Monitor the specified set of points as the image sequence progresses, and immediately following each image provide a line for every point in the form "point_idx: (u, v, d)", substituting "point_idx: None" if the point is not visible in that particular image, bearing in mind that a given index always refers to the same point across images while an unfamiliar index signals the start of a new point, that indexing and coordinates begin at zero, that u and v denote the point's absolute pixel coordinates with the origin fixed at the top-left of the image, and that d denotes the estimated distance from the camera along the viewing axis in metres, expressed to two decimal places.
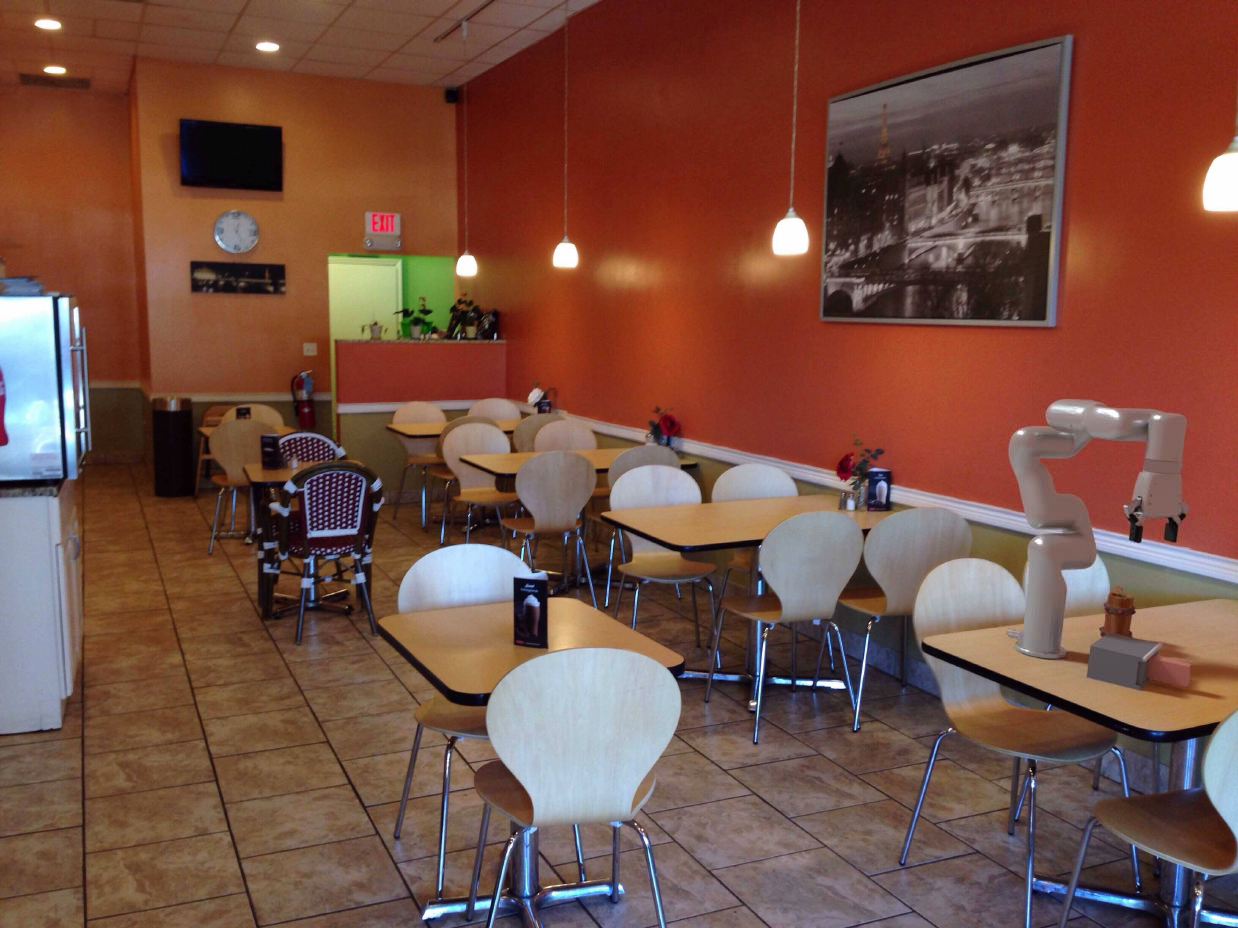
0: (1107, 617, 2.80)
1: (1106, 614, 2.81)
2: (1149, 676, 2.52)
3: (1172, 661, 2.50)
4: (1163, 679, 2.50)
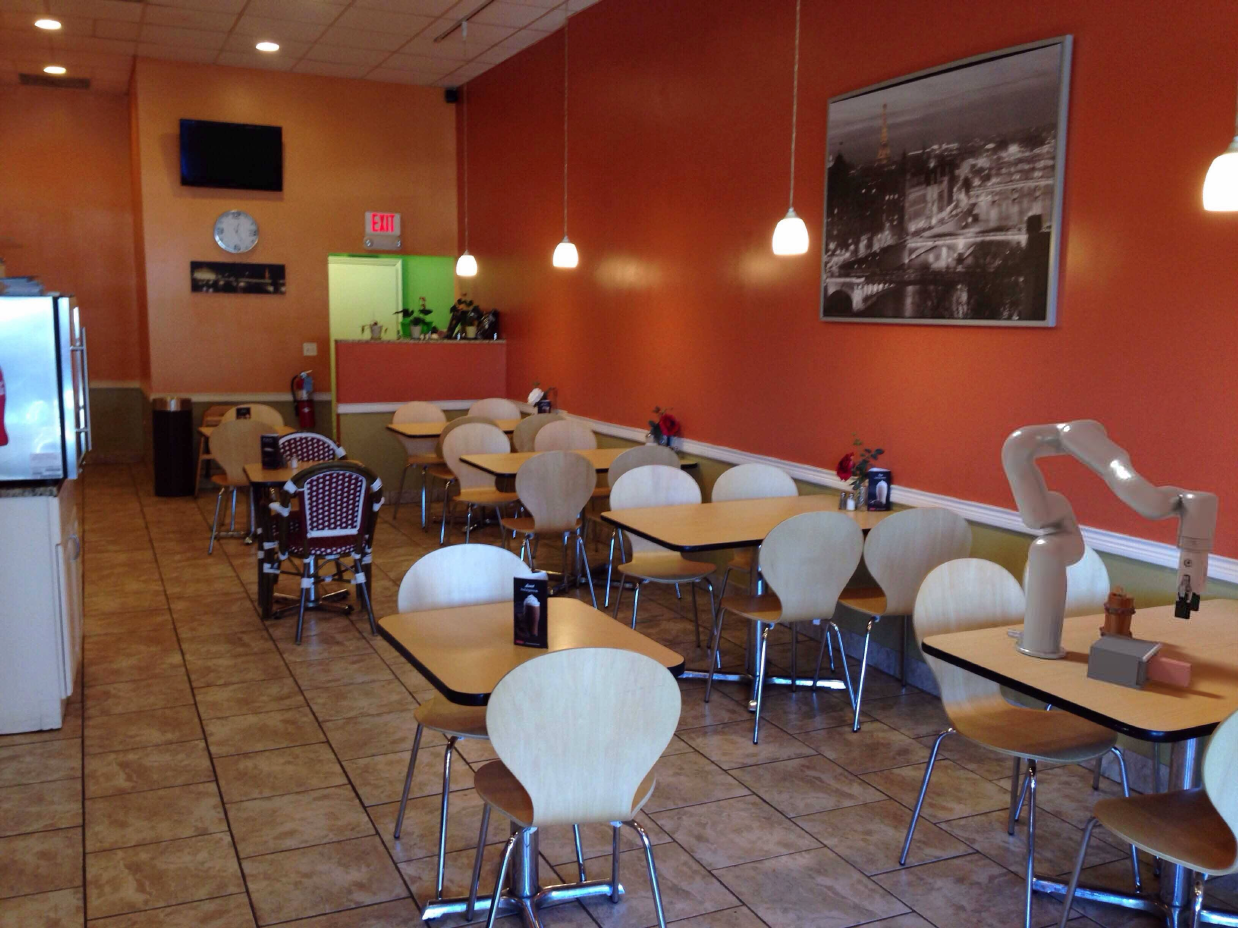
0: (1107, 617, 2.80)
1: (1106, 614, 2.81)
2: (1149, 676, 2.52)
3: (1172, 661, 2.50)
4: (1163, 679, 2.50)
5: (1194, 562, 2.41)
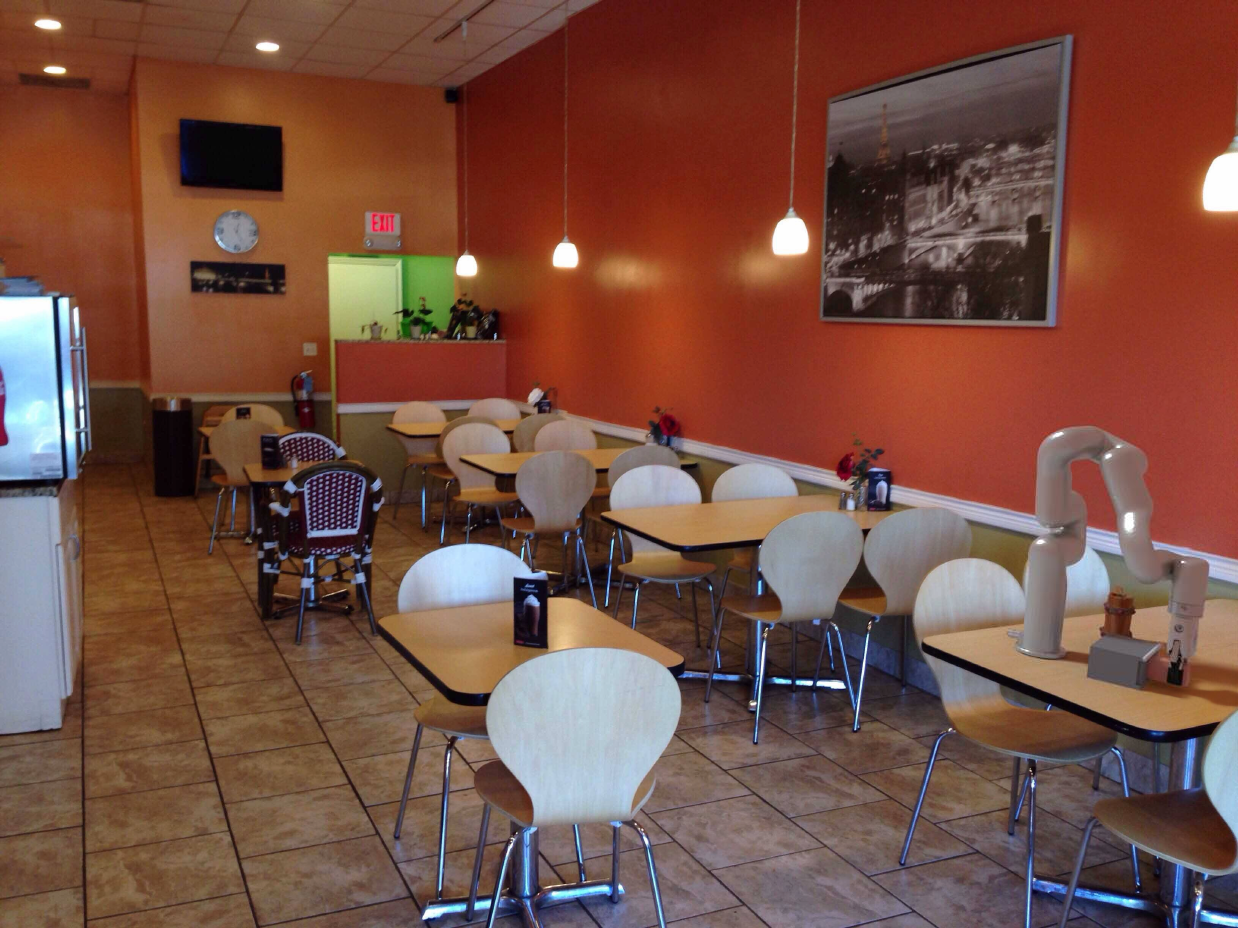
0: (1107, 617, 2.80)
1: (1106, 614, 2.81)
2: (1149, 676, 2.52)
3: None
4: (1163, 679, 2.50)
5: (1184, 628, 2.43)
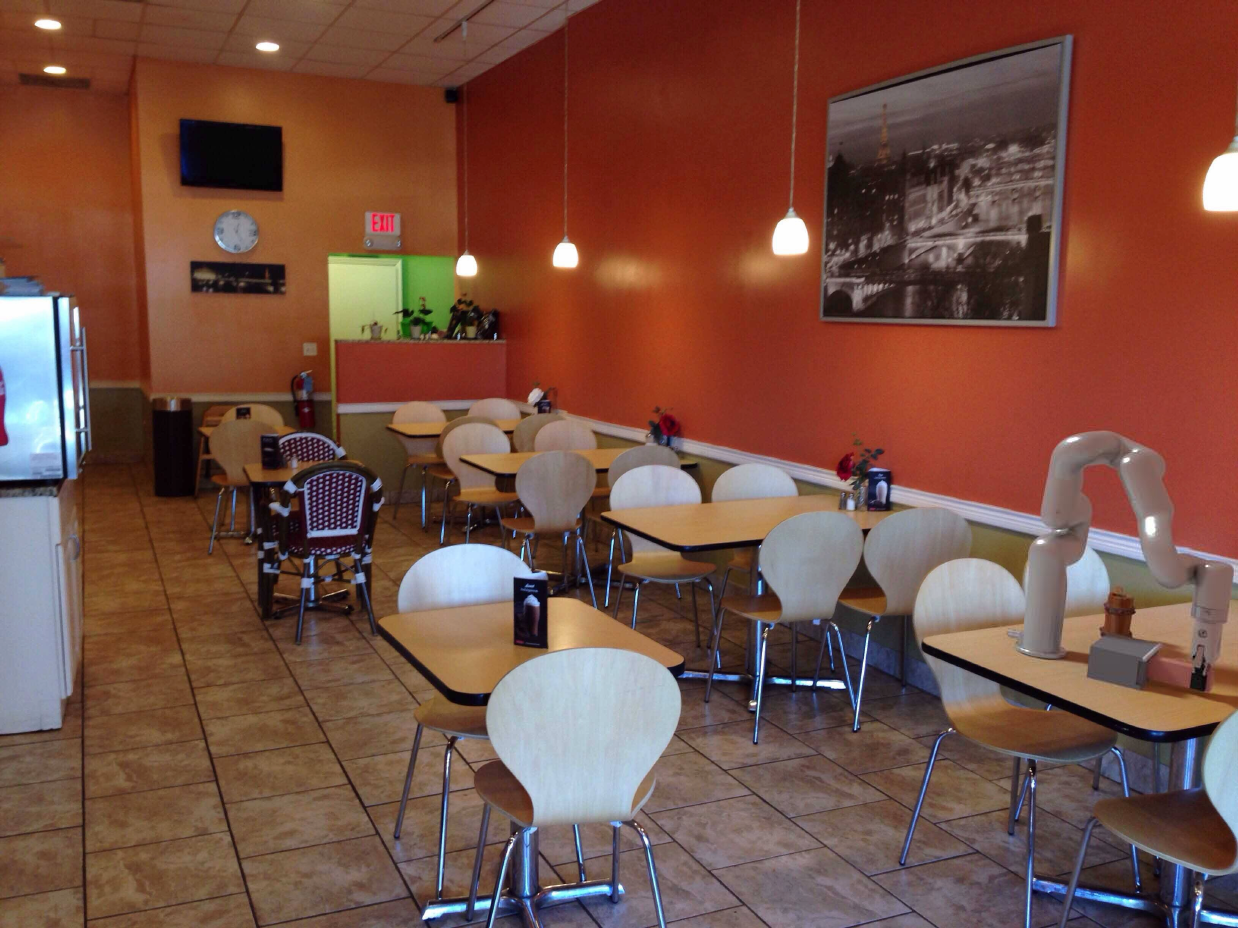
0: (1107, 617, 2.80)
1: (1106, 614, 2.81)
2: (1172, 681, 2.49)
3: None
4: (1186, 684, 2.47)
5: (1209, 633, 2.40)
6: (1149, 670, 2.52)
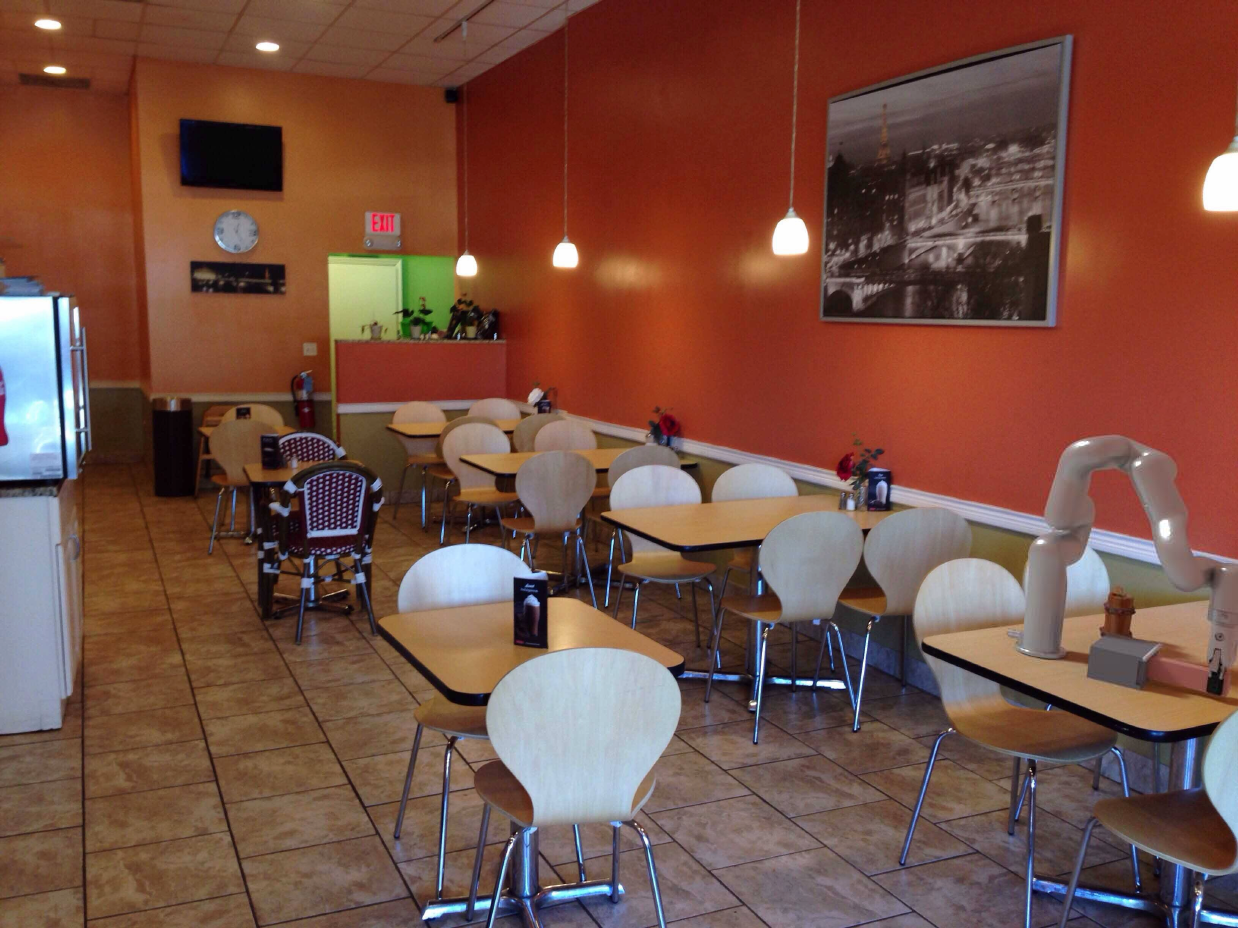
0: (1107, 617, 2.80)
1: (1106, 614, 2.81)
2: (1188, 685, 2.47)
3: None
4: (1202, 688, 2.45)
5: (1226, 636, 2.38)
6: (1165, 674, 2.50)
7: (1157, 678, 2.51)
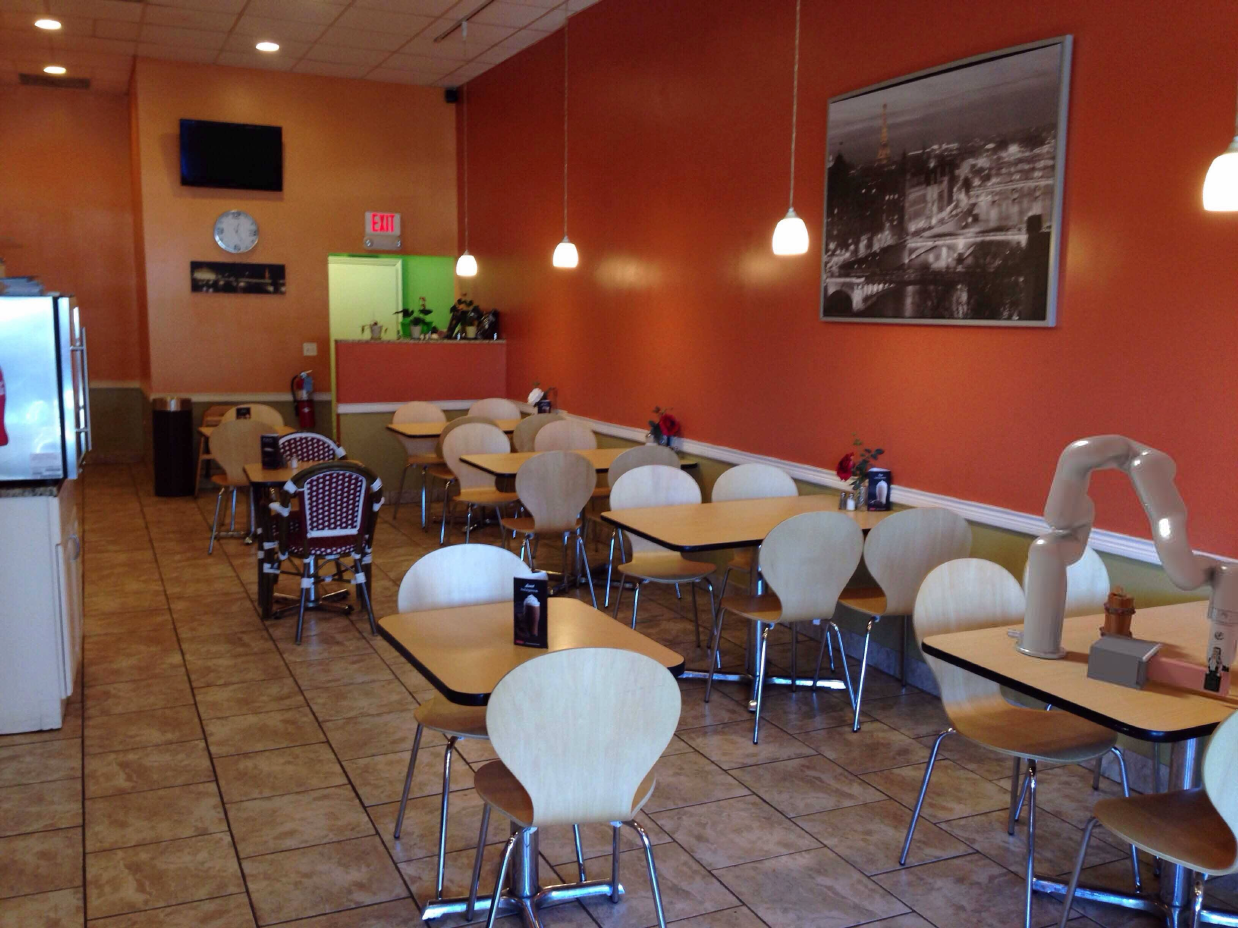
0: (1107, 617, 2.80)
1: (1106, 614, 2.81)
2: (1188, 685, 2.47)
3: None
4: (1202, 688, 2.45)
5: (1225, 635, 2.38)
6: (1165, 674, 2.50)
7: (1157, 678, 2.51)
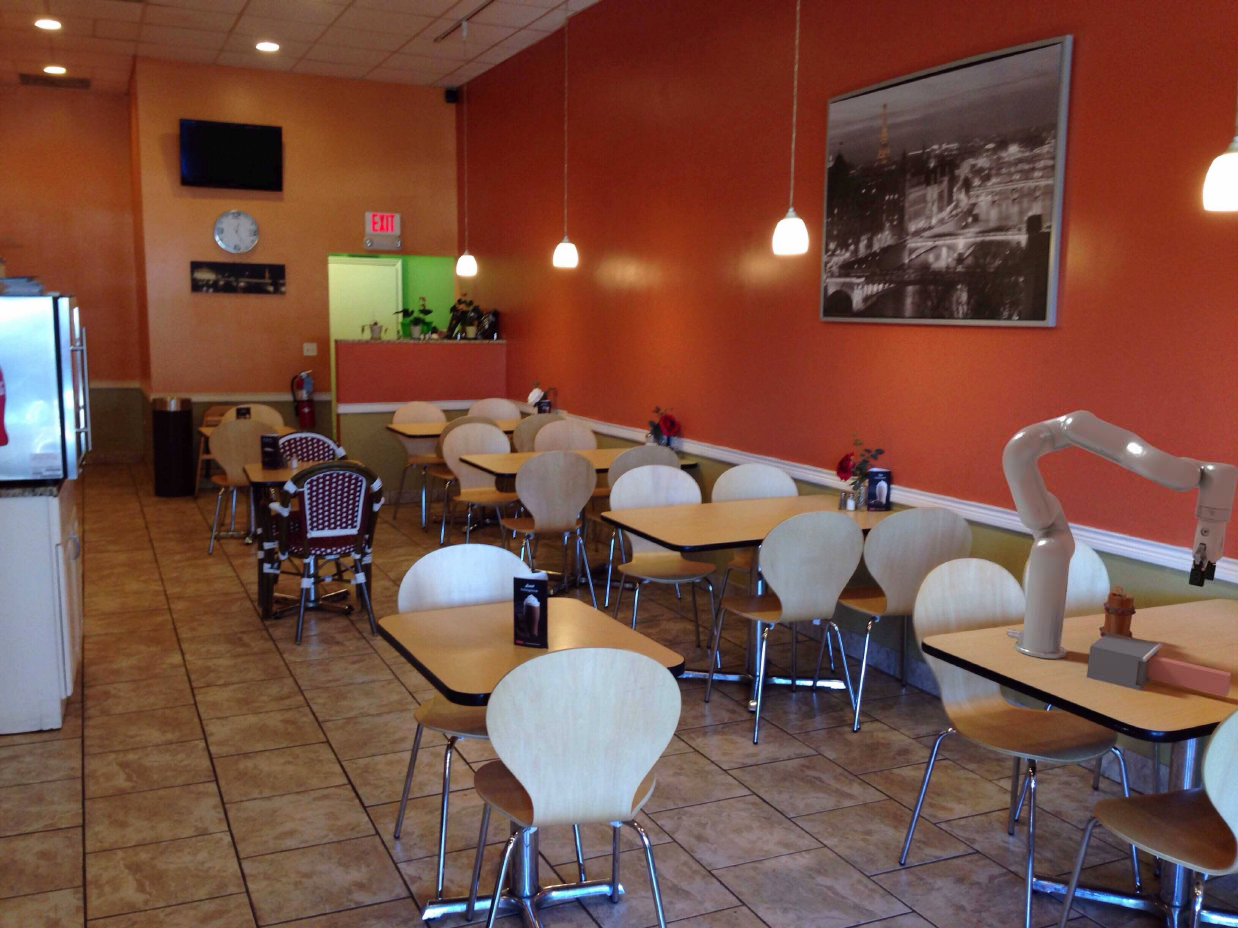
0: (1107, 617, 2.80)
1: (1106, 614, 2.81)
2: (1188, 685, 2.47)
3: (1212, 670, 2.44)
4: (1202, 688, 2.45)
5: (1211, 531, 2.47)
6: (1165, 674, 2.50)
7: (1157, 678, 2.51)
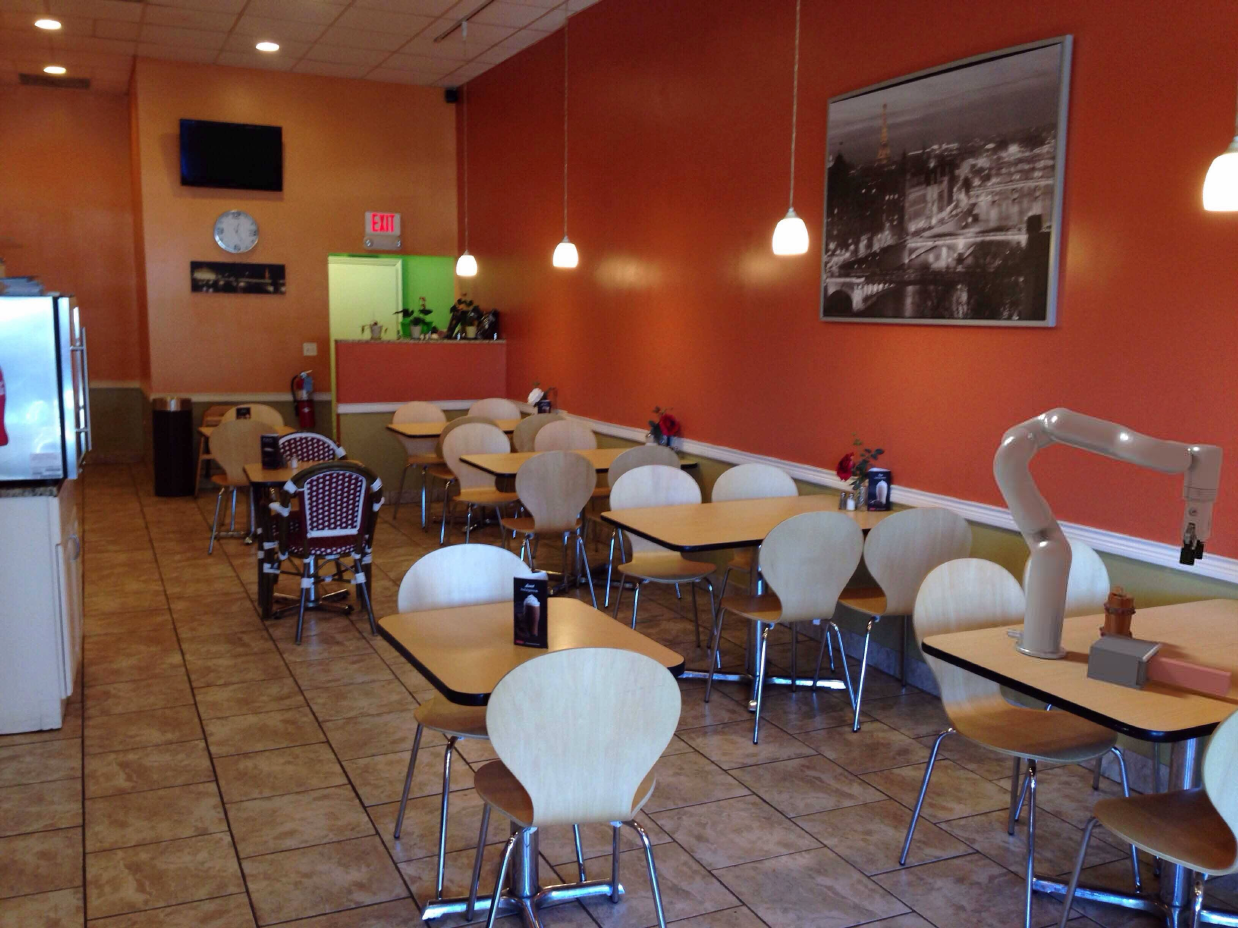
0: (1107, 617, 2.80)
1: (1106, 614, 2.81)
2: (1188, 685, 2.47)
3: (1212, 670, 2.44)
4: (1202, 688, 2.45)
5: (1199, 511, 2.53)
6: (1165, 674, 2.50)
7: (1157, 678, 2.51)
